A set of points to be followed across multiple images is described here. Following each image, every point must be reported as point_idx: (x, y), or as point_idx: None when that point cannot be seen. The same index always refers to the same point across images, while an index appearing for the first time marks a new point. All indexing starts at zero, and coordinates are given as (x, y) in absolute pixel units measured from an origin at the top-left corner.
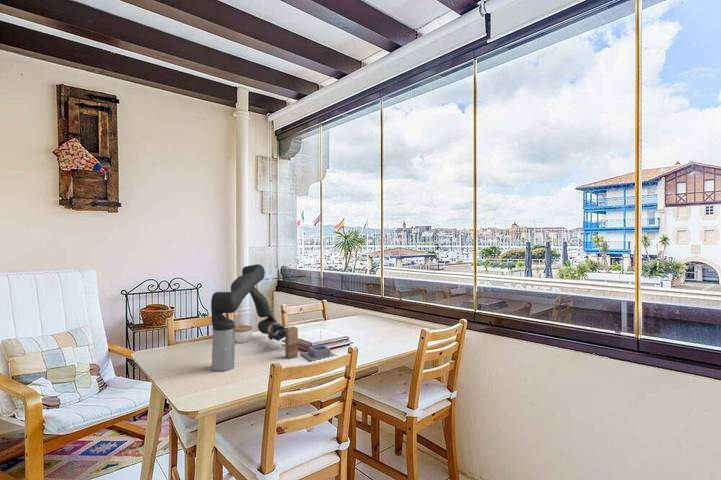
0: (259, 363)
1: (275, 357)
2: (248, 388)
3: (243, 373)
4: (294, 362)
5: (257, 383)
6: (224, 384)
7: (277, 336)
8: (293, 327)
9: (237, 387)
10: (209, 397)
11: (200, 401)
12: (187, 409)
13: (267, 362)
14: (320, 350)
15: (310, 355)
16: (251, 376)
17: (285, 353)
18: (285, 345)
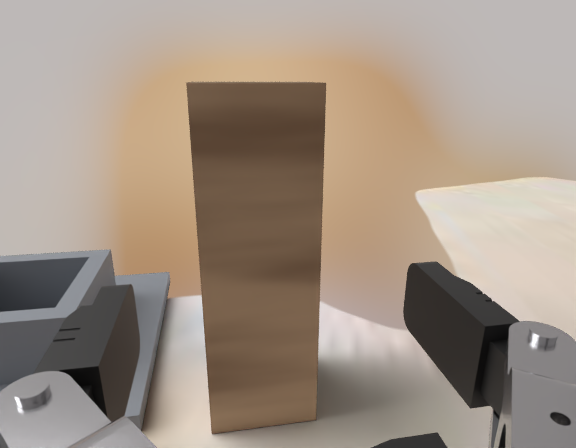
0: None
1: (423, 421)
2: (457, 200)
3: (546, 258)
4: None
5: (439, 210)
6: (562, 219)
7: (450, 280)
8: (221, 82)
9: (498, 206)
10: (549, 192)
11: (559, 187)
12: (563, 179)
13: None
14: (62, 252)
15: None
16: (487, 237)
17: (315, 389)
18: (318, 312)
